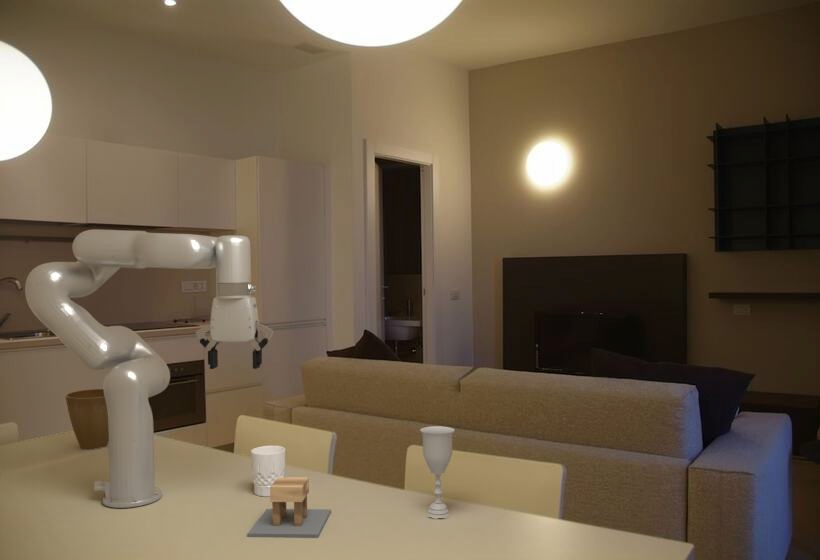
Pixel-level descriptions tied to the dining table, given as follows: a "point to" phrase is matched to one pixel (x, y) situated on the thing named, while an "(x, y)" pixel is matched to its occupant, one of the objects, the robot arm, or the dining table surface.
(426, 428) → the chalice
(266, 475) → the white cup
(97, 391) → the plant pot
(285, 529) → the mat
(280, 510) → the stool
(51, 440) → the dining table surface
